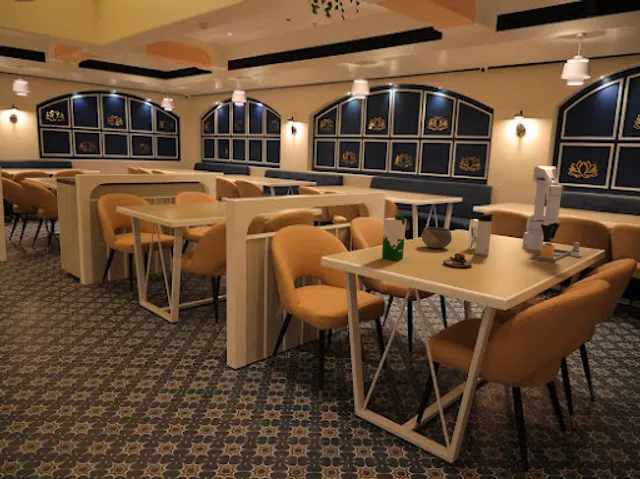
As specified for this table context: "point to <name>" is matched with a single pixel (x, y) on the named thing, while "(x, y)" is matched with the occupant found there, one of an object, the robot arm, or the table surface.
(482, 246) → the travel mug
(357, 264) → the table surface
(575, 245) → the rod
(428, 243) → the bowl
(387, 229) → the milk carton
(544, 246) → the block
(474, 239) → the beer glass
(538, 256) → the lid
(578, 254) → the bracket
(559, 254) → the case
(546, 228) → the robot arm
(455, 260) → the burger
